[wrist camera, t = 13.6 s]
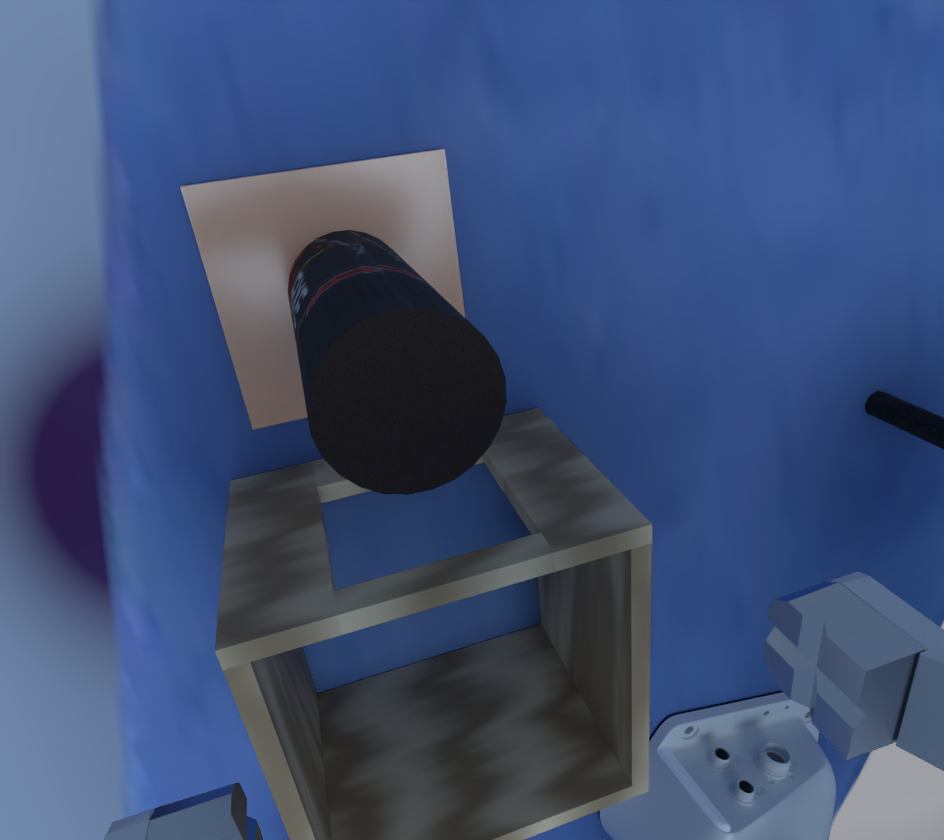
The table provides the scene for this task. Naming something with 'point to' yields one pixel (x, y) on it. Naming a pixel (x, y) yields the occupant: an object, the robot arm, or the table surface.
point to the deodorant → (389, 368)
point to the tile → (289, 231)
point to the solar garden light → (907, 417)
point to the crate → (446, 659)
